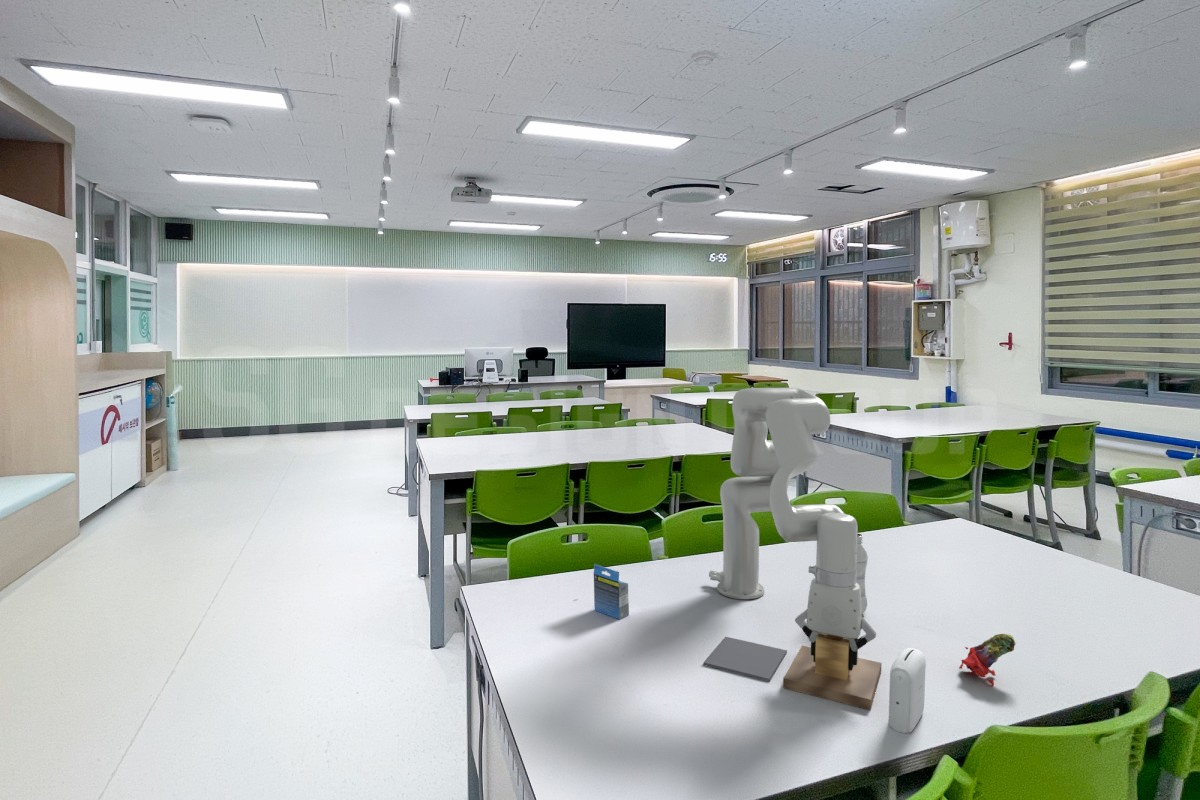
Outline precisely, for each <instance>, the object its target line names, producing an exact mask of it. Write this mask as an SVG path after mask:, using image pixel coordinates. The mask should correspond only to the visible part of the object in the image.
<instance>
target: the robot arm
mask: <svg viewBox="0 0 1200 800" xmlns="http://www.w3.org/2000/svg"><path fill="white" fill-rule="evenodd" d="M731 404H732V405H731V407H732V408H731V411H732V416H733V421H734V431H733V436H732V445H731V452H730V469H731V471H732V472H733V473H734V475H737V476H736V477H731V478H728V479H726V480H724V481H723V483H722V484H721V485H720V491H719V495H720V501H721V502H720V503H721V507H722V509H721V510H722V517H723V520H722V521H723V522H722V524H723V528H722V529H723V542H722V543H723V546H722V547H723V548H722V549H723V557H722V560H723V561H722V562H723V564H722V567H723V568H722V570H723V571H717V570H709V572H708V576H709V578H710V581H717V582H718V583H717V588H716V590H717V592H718V593H720V594H721V595H723V596H724V597H727V598H731V599H734V600H736V599H737V600H754V599H758V598H760V597H763V595H765V588H764V586H763V584H760V583H759V574H760V573H759V570H760V569H759V568H760V567H759V566H760V565H759V563H760V561H759V560H760V528H759V526H758V523H757V522H756V521H755V519H754V518H753V516H751V513H759V512H760V513H762V512H771V515H772V517H773V522H774V526H775V528H776V531H777V532H778V534H779V536H780V537H781V538H782V539H783V540H784V541H786V542H790V543H800V542H801V543H802V542H816V561H815V563H816V564H815V565H812V566H811V565H810V566H808V573H809V574H813V576H814V577H813V579H812V580H811V581H810V585H809V591H808V599H807V608H806V609H805V610H804V611H803V612H801V613H799V614H798V615H797V616H796V617H795V619H794V622H795V624H797V626H798V627H799V628H800V629H801V630H802V632H803V633H804V635H806V637H807V638H808V640H809V642H810V647H811V655H812V656H814V657H813V662H815V651H816V638H817V636H818V634H819V633H823V634H828V635H833V636H838V637H843V638H848V641H849V644H850V649H849V661H848V669H849V670H851V671H852V669H853V666H854V665H857V659H858V658H859V656H858V655H859V653H858V650H860V649H861V648H863V646H866V645H867V643H870V642H872V641H873V640H874V639H875V638H876V637H877V631H875V629H873V627H872V625H870V624H869V623H868V622H867V620H866V619H865V618H864V616H863V613H862V599H861V592H860V587H859V584H858V583H856V563H857V533H858V527H859V526H858V521H857V519H856V518H855V516H853V515H850V514H846V513H845V512H844V511H843V510H842V509H841V508H840V507H839V506H837V505H835V504H832V503H820V504H819V503H818V504H817V503H816V504H813V503H812V504H796V505H795V504H794V505H792V504H791V502H790V500H789V499H790V498H789V497H788V496H789V495H788V488H789V482H790V480H791V479H792V478H794V477H796V476H799V475H801V474H803V473H805V472H806V471H808V470H810V469H812V468H813V467H814V466H815V465H816V464H817V463H818V459H819V456H818V455H819V454H818V452H817V449H816V446H815V444H814V441H813V437H812V435H822V434H824V433H826V432H827V431H828V429H829V427H830V425H831V414H830V411H829V408H828V405H826V403H825V402H824V400H823V399H821V398H819V397H818V396H816V395H814V394H812V393H810V392H808V391H807V390H804V389H802V388H800V387H749V388H748V387H747V388H742V389H739V390H737V391H736V392H735V394H734V395H733V398H732V403H731ZM768 433H769V436H770V439H768V440H767V438H768ZM861 631H864V633H865V634H864V635H862V636H860V635H861Z"/></svg>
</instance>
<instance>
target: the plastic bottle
mask: <svg viewBox="0 0 1200 800" xmlns="http://www.w3.org/2000/svg"><path fill="white" fill-rule="evenodd" d="M863 542H864V541H863V534H862V533H859V532H857V563H856V583H858V584H859V587H860V592H861V599H862V614H864V613H865V612H866V611H867V607H868V599H867V595H866V572H867V566H868V559H869V555H868V553H867V550H866V549H865V548H864V547H863V545H862V544H863Z"/></svg>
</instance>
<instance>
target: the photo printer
mask: <svg viewBox="0 0 1200 800" xmlns="http://www.w3.org/2000/svg"><path fill="white" fill-rule="evenodd" d="M926 662H927V661H926V658H925V655H924V653H923V652H922V651H921V650H920V649H916V648H913V647H908V648H905V649H903V650H902V651H901V652H900V653H898V655H897V657H896V658H895V659H894V661H893V662H892V665H891V669H890V672H889V692H888V693H889V696H888V698H889V699H888V719H887V720H888V722H887V723H888V726H890V727H891V729H892V730H893V731H897V732H899V733H902V734H907V733H911V732H912V731H913V730H914V729H915V728H916V725H918V723H919V721H920V719H921V717H922V715H923V713H924V711H925V710H924V709H925V692H926V689H925V688H926V665H927V664H926Z"/></svg>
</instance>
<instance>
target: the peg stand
mask: <svg viewBox="0 0 1200 800" xmlns="http://www.w3.org/2000/svg"><path fill="white" fill-rule="evenodd" d="M813 657H814V656H812V655H811V646H808V645H807V646H806V645H801V647H800V648H799V650H798V652H797V653H796V655H795V657H794V658H793V660H792V661H791V664H790V666H789V668H788V669H787V671H786V673H785V674H784V676H783V687H782V688H783V689H785V690H786V689H787V690H791V691H794V692H798V693H803V694H805V695H810V696H814V697H817V698H818V697H819V698H820V699H825V700H829V701H834V702H837V703H838V702H839V703H842V704H845V705H849V706H854V707H857V706H858V707H857V708H861V707H862V708H861V709H864V708H865V710H869V711H871V710H872V706H873V703H874V700H875V696H876V693H875V692H877V688H878V685H879V681H880V678H881V676H882V662H879V661H876V660H869V659H866V658H863V657H862V658H861V657H858V659H857V665H854V666H853V669H852V671H850V673H849V676H848V679H847V681H846V680H842V679H838V678H834V677H829V676H825V675H821V674H817V673H815V662H813ZM873 699H874V700H873Z"/></svg>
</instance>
